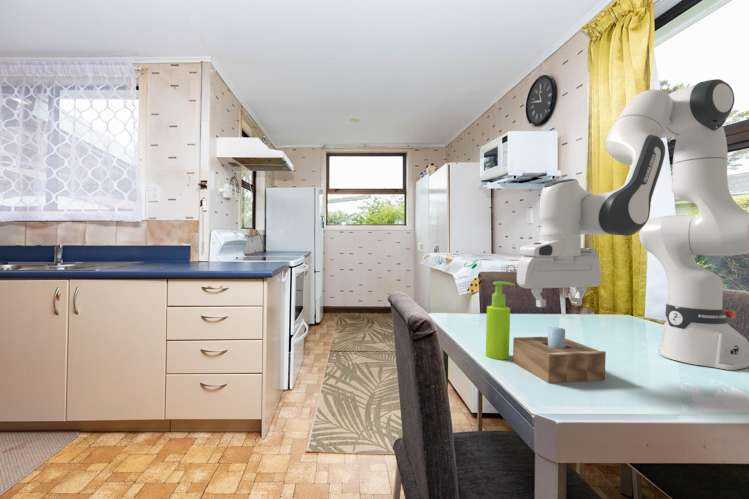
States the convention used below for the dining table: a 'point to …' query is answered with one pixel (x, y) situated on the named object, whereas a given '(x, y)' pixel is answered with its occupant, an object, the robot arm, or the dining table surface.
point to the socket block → (559, 360)
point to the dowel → (556, 337)
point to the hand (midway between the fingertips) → (558, 306)
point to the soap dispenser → (498, 325)
